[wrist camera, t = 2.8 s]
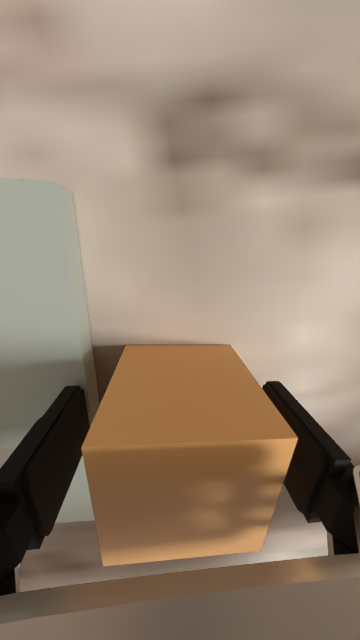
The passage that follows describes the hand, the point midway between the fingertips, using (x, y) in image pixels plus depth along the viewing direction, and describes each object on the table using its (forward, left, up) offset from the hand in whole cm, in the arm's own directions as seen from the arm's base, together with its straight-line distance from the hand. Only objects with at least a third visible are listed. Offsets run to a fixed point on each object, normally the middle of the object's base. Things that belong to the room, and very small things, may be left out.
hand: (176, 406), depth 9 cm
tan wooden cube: (0, 0, -1) cm, 1 cm away
